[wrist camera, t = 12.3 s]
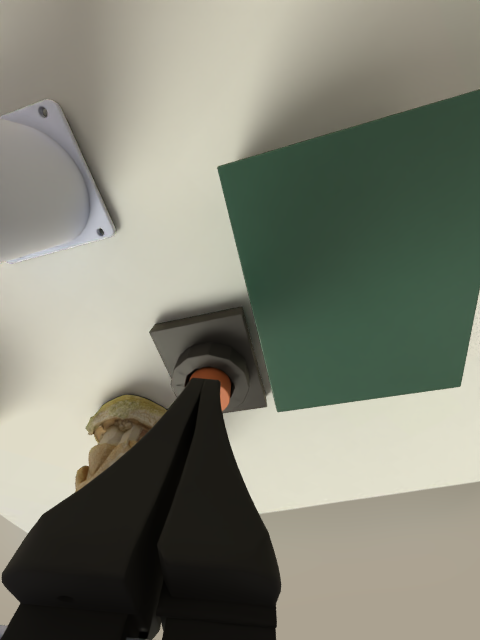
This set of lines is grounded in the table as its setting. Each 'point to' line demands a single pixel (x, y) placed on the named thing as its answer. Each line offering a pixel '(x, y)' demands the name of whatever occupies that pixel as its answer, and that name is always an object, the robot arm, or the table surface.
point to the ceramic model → (117, 432)
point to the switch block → (212, 354)
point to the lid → (363, 254)
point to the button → (216, 375)
